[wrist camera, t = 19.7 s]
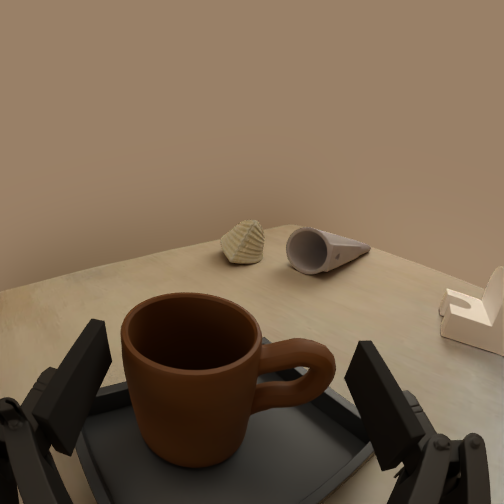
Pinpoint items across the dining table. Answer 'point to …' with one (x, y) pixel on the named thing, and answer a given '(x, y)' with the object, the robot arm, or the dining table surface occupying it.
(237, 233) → the seashell
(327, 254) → the planter
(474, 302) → the block with arch cutout
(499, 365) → the dining table surface
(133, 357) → the mug
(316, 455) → the tray
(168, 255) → the dining table surface
